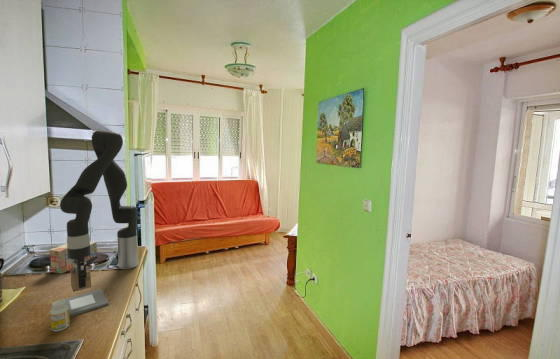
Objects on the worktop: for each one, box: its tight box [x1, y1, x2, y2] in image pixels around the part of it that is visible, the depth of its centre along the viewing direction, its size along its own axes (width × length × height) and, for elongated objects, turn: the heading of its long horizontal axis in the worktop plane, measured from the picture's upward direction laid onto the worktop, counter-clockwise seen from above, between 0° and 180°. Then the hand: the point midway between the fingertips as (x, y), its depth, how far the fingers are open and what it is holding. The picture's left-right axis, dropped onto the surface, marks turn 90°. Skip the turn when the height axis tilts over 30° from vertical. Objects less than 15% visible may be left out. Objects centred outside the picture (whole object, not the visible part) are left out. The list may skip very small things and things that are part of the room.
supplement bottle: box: [49, 299, 71, 332], centre depth 101 cm, size 5×5×10 cm
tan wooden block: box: [69, 265, 92, 293], centre depth 115 cm, size 6×6×7 cm
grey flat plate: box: [62, 288, 109, 318], centre depth 116 cm, size 14×16×1 cm
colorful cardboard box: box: [49, 240, 98, 275], centre depth 151 cm, size 21×6×12 cm, turn 166°
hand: (81, 283), depth 115 cm, fingers closed on tan wooden block, 6 cm apart
